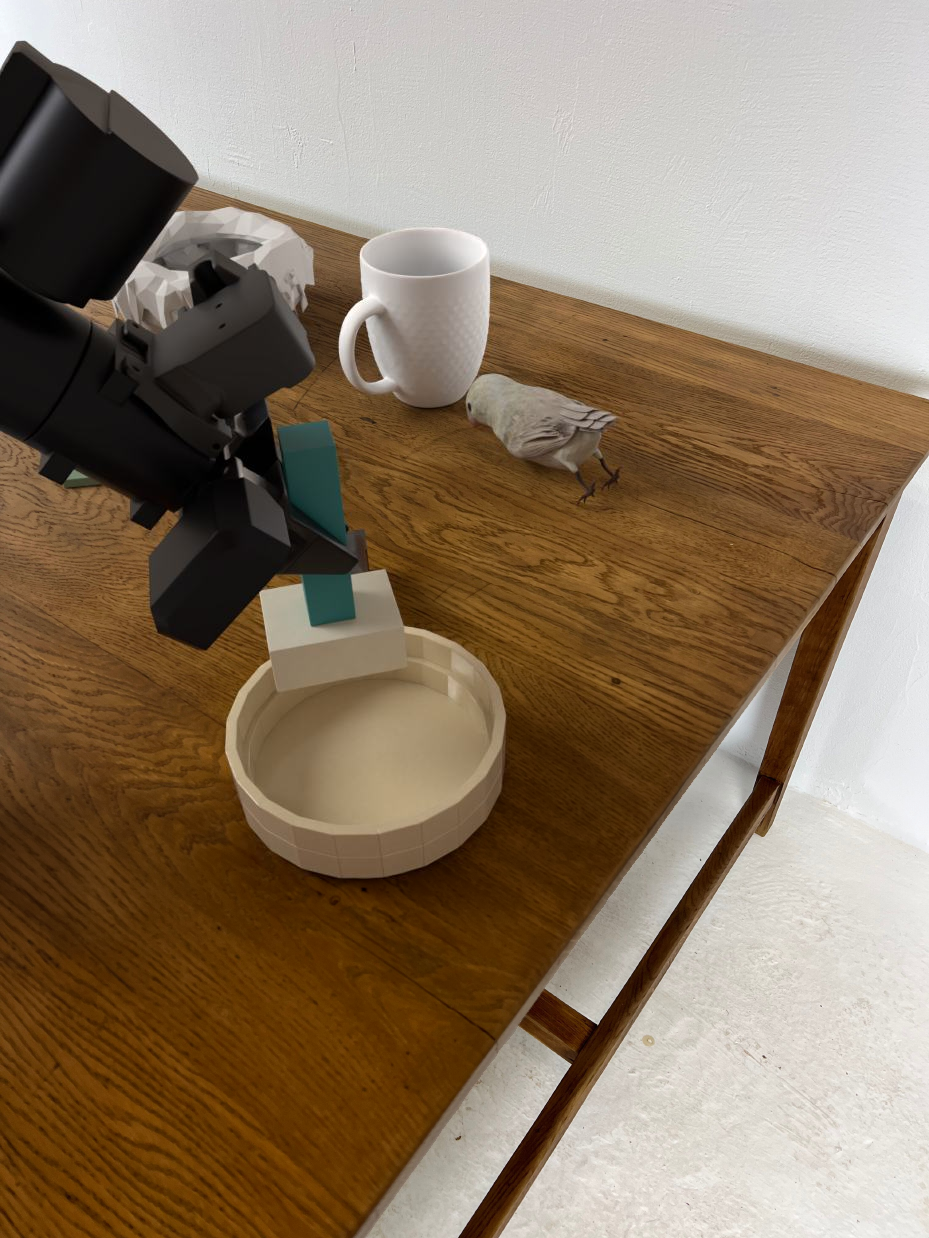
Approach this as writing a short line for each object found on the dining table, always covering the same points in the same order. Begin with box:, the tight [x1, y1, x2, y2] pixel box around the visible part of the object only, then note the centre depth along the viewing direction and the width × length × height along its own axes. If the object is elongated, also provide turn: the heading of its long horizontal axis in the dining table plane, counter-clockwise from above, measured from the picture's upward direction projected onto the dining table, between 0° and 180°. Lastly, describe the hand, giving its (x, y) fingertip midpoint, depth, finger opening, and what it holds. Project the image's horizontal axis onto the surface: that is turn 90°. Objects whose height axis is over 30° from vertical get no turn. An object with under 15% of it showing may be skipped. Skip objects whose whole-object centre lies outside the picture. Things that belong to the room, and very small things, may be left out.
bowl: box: [110, 206, 316, 334], centre depth 94 cm, size 21×20×10 cm
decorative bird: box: [465, 373, 624, 507], centre depth 75 cm, size 5×16×8 cm, turn 41°
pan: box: [224, 625, 507, 879], centre depth 53 cm, size 15×15×4 cm
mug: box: [338, 226, 491, 409], centre depth 82 cm, size 15×11×13 cm
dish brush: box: [259, 419, 407, 692], centre depth 47 cm, size 7×5×14 cm
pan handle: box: [346, 528, 371, 575], centre depth 62 cm, size 2×12×5 cm, turn 9°
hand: (348, 549), depth 48 cm, fingers closed on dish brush, 2 cm apart
